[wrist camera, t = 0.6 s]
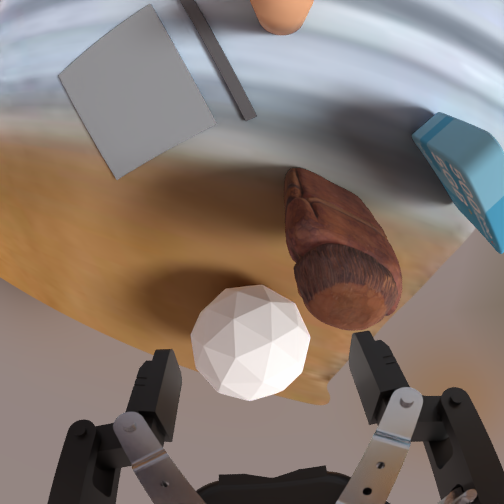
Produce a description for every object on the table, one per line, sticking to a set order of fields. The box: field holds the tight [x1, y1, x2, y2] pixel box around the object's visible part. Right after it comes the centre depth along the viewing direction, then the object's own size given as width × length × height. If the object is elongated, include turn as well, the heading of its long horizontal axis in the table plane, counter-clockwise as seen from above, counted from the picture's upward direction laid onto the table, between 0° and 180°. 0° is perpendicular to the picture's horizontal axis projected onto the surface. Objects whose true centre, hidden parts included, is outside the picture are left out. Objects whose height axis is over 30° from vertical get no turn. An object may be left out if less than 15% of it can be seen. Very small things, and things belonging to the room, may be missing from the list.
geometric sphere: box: [191, 284, 310, 401], centre depth 38 cm, size 14×15×15 cm
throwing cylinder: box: [250, 0, 314, 35], centre depth 20 cm, size 5×5×9 cm
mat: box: [58, 0, 257, 180], centre depth 28 cm, size 18×18×1 cm
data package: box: [412, 112, 504, 254], centre depth 25 cm, size 12×4×12 cm, turn 47°
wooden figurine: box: [284, 168, 402, 330], centre depth 27 cm, size 12×6×18 cm, turn 65°
